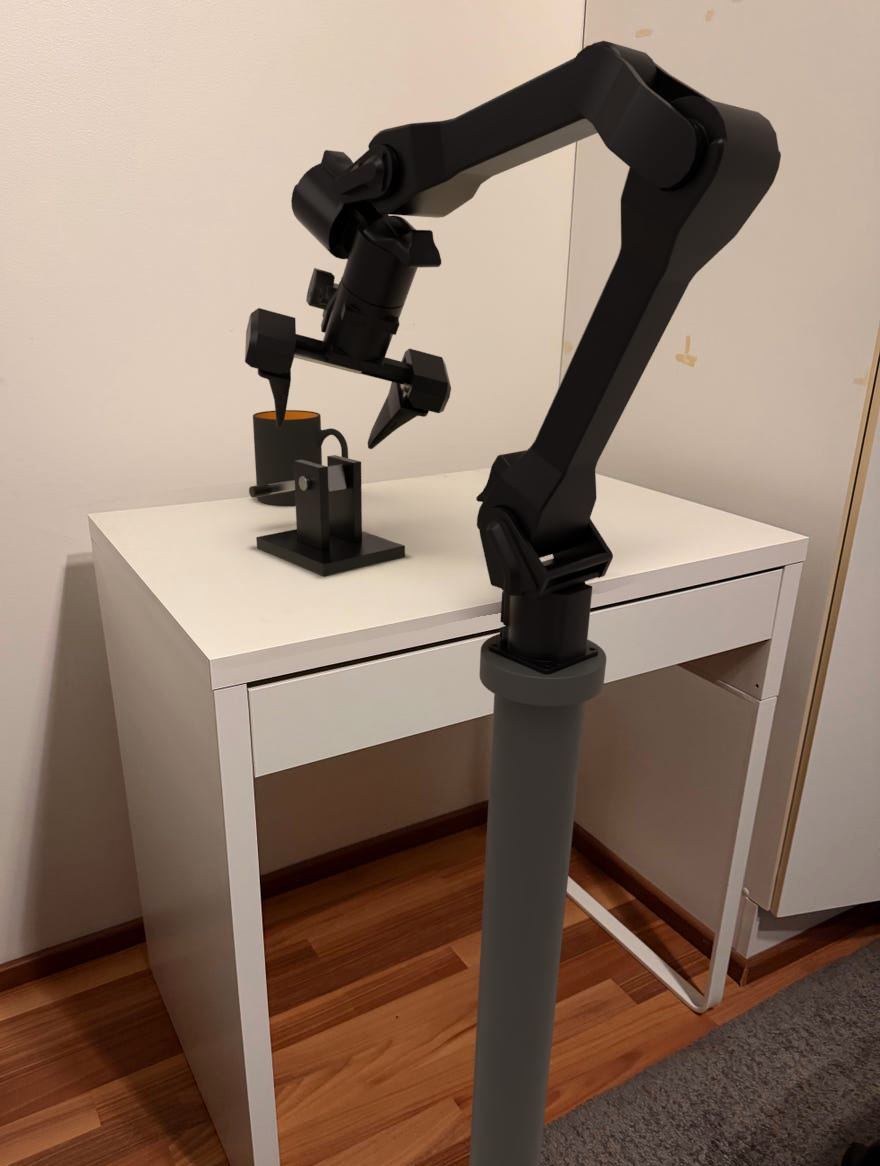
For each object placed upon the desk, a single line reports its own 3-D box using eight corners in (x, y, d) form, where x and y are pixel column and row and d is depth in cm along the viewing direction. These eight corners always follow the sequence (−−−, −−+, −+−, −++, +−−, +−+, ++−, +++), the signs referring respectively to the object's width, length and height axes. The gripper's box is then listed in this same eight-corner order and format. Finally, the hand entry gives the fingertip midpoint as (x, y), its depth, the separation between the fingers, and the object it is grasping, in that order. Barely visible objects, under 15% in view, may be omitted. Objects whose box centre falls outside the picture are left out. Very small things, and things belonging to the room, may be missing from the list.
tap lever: (251, 503, 93) (246, 481, 93) (290, 497, 96) (286, 475, 96) (317, 494, 83) (312, 468, 83) (358, 486, 86) (354, 462, 86)
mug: (337, 510, 105) (335, 422, 101) (246, 503, 108) (241, 417, 104) (359, 495, 112) (358, 413, 108) (273, 488, 115) (269, 408, 111)
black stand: (256, 548, 90) (251, 457, 86) (335, 531, 96) (333, 446, 92) (323, 576, 81) (320, 478, 78) (405, 556, 87) (406, 464, 84)
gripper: (460, 274, 82) (406, 410, 93) (266, 215, 76) (232, 367, 87) (478, 336, 75) (417, 475, 86) (265, 276, 69) (228, 434, 80)
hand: (324, 436), depth 85 cm, fingers open, 9 cm apart
